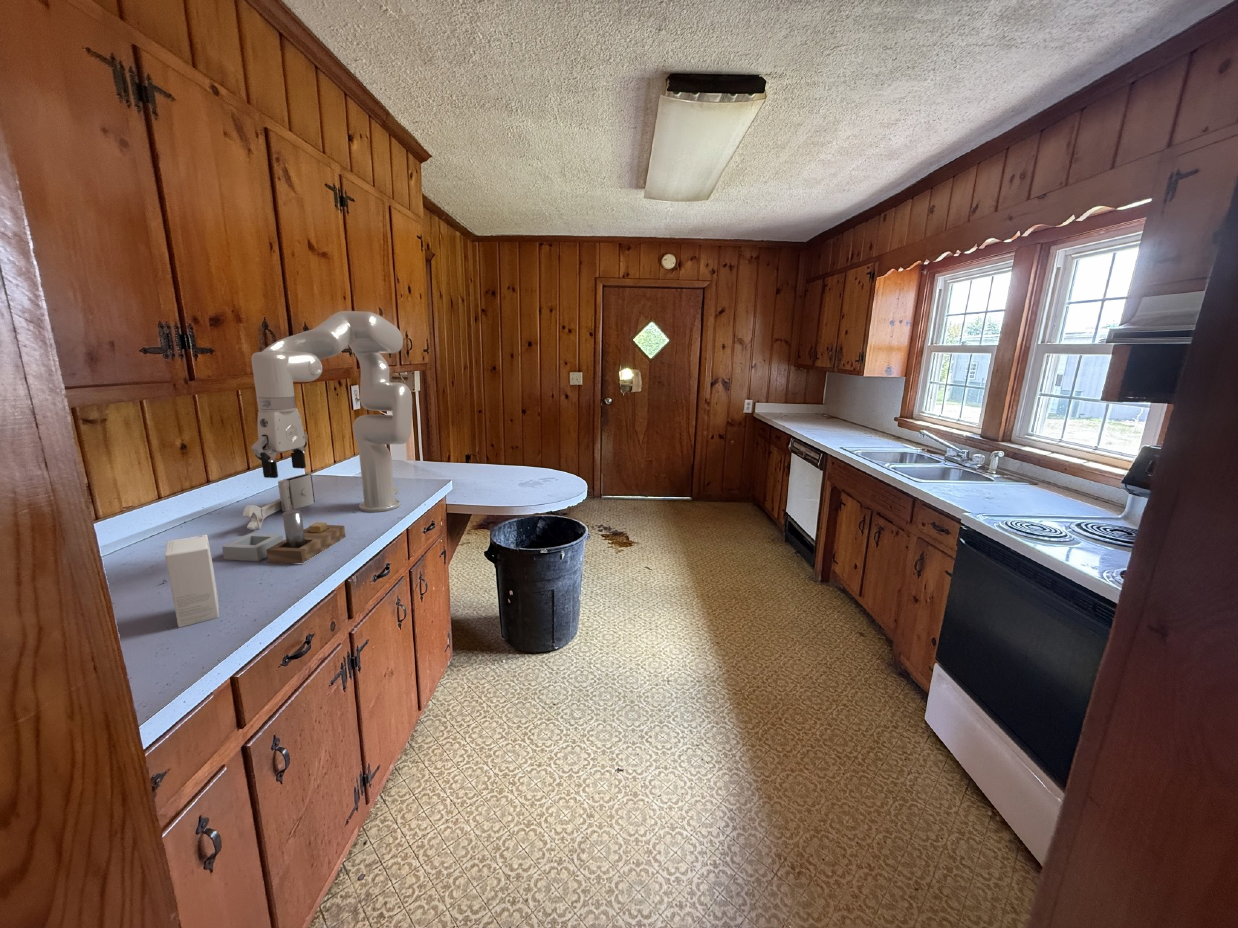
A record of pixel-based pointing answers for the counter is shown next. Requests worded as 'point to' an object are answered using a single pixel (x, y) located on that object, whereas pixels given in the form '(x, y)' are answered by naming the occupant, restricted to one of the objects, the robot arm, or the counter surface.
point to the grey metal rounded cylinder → (294, 529)
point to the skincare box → (192, 580)
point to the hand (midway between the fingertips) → (285, 472)
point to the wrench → (260, 513)
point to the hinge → (296, 492)
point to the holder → (250, 547)
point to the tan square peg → (318, 527)
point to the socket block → (306, 546)
